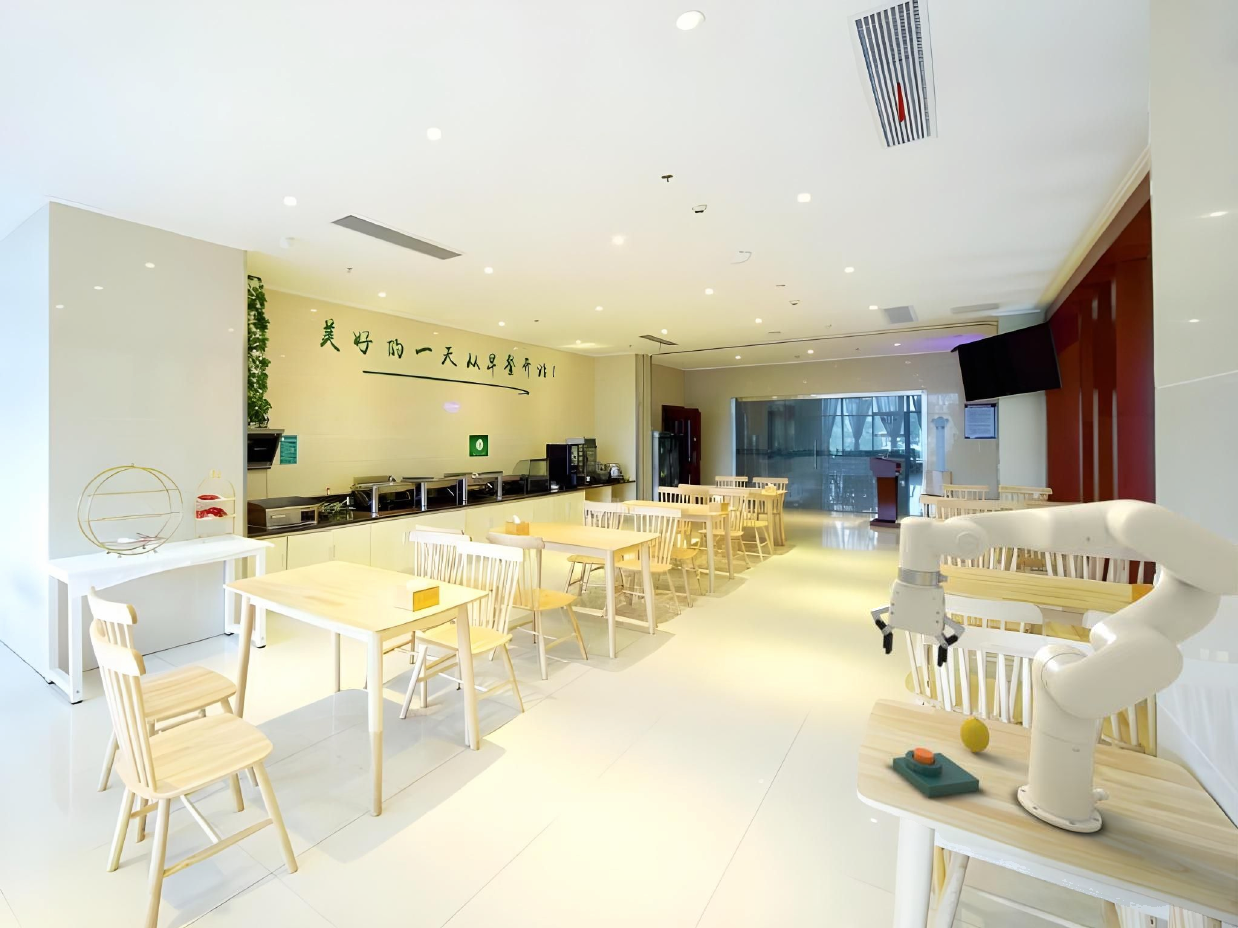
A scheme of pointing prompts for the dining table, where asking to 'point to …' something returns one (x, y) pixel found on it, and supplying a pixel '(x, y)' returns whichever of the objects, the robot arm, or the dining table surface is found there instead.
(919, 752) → the orange button cap
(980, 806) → the dining table surface
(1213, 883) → the dining table surface
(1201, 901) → the dining table surface
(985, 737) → the lemon
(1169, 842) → the dining table surface
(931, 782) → the button base
